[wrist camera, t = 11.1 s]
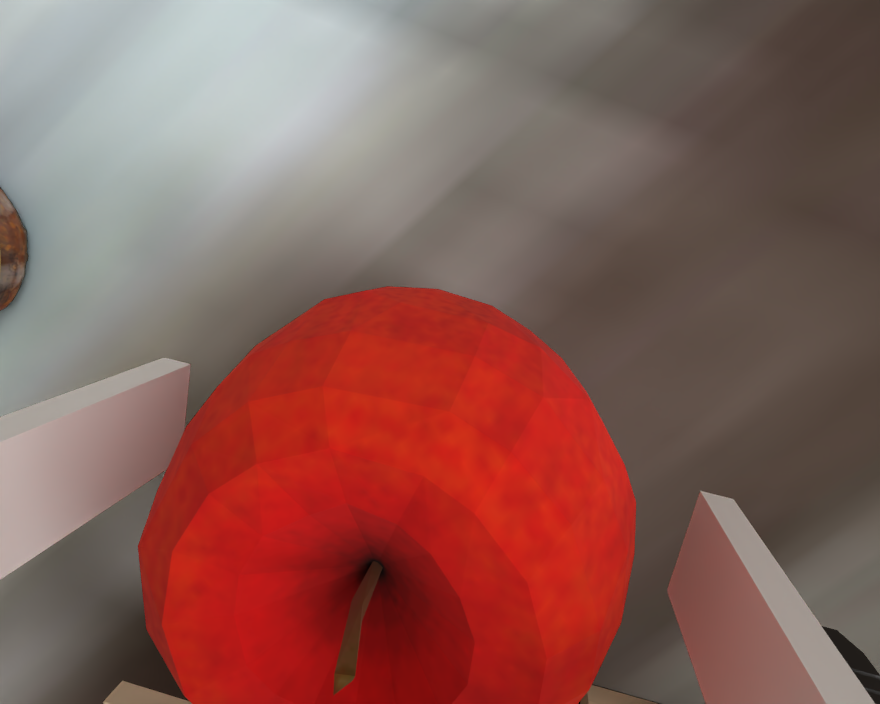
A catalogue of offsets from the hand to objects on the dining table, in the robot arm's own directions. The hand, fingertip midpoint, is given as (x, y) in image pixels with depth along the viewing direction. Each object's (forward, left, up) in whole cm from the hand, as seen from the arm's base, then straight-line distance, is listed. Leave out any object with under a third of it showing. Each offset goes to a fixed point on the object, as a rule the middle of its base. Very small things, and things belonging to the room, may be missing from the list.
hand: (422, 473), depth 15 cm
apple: (0, 0, -5) cm, 5 cm away
